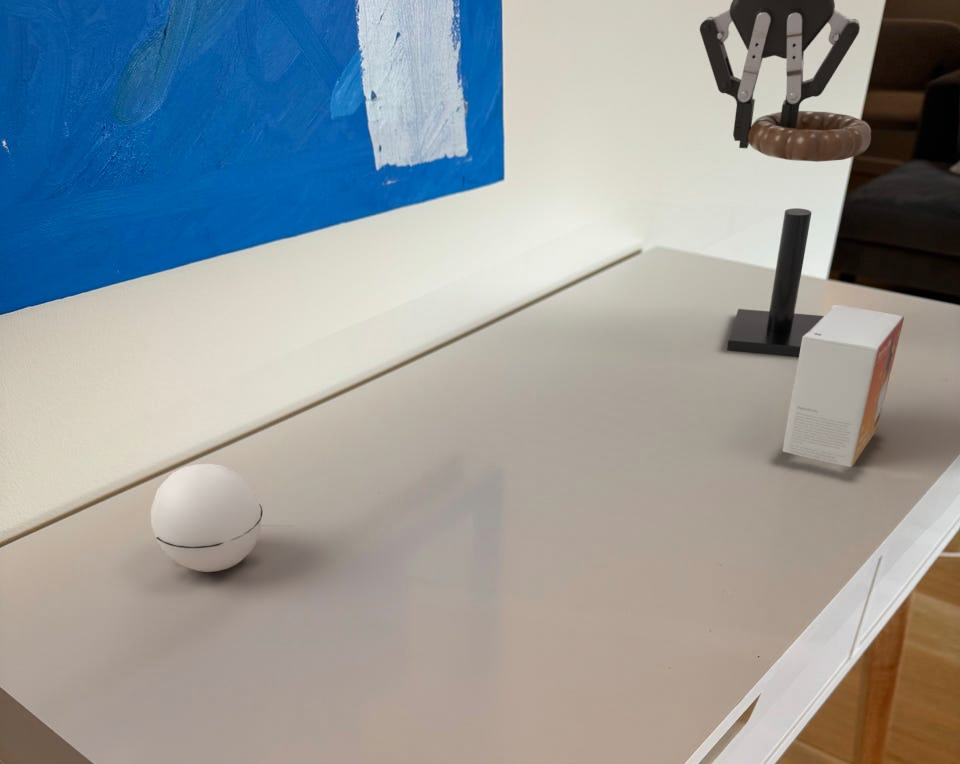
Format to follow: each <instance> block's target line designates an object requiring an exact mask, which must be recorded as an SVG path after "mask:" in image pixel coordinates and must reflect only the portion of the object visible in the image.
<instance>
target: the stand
mask: <svg viewBox="0 0 960 764" xmlns="http://www.w3.org/2000/svg"><path fill="white" fill-rule="evenodd" d="M811 218H812V211H811V210H809V209H805V208H798V207H797V208H796V207H795V208H788V209H785V210H784V214H783V221H782V227H781V234H780V240H779V246H778V253H777V260H776V265H775V273H774V279H773V284H772V285H773V286H772V292H771V299H770V305H769V311H768V310H758V309H745V308H738V309H737V310H736V311H737V313H736V314H735V318H734V320H733V321H734V322H733V325H732V327H731V330H730V333H729V337H728V340H727V346H726V351H727V352H728V351H729V352H736V353H737V352H738V353H750V354H759V355H771V356H781V357H790V358H791V357H792V358H799V354H800V349H801V343H802V337H803V336H804V335H805V334H806V333H808V332H809V331H810V330H811V329H812V328H813V327H814V326H815V325H816V324H817V323H818V322H819V321H820V320H821V319H822V318H823V317H824V316H825V315H817V314H807V313H806V314H805V313H795V312H796V306H797V301H798V295H799V289H800V285H801V278H802V271H803V266H804V259H805V254H806V248H807V241H808V236H809V230H810V224H811Z"/></svg>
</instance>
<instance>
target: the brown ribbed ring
mask: <svg viewBox="0 0 960 764" xmlns="http://www.w3.org/2000/svg"><path fill="white" fill-rule="evenodd" d="M781 112H782V111H779V112H778V111H777V112H774V113H771V114H766V115H763V116H760V117H758V118H756V119H755V121H754V122H752V126H751V129H750V131H749V135H748V141H749V146H750V147H751V148H752V149H753V150H755V151H757V152H758V153H761V154H763V155H765V156H767V157H770V158H777V159H783V160H787V161H795V162H796V161H799V162H815V163H816V162H817V163H819V162H833V161H843V160H847V159H851V158H854V157H856V156H859V155H861V154H863V153H864V152H866V150H867V149H868V148H869V146H870V144H871V141H872V140H871V139H872V135H871V134H872V129H871V127H870V125H869V123H868V122H867V121H865V120H862V119H859V118H857V117H855V116H851V115H848V114H843V113H836V112H830V111H813V110H812V111H811V110H799V112H798V118H797V125H796V129H792V128H787V127H781V126H779V125H780V118H781Z"/></svg>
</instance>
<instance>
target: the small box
mask: <svg viewBox="0 0 960 764" xmlns="http://www.w3.org/2000/svg"><path fill="white" fill-rule="evenodd" d="M823 316H824V317H823V318H822V319H821V320H820V321H819V322H818V323H817V324H816V325H815V326H814V327H813V328H812V329H811V330H810V331H809V332H808V333H806V334H805V335H804V336H803V337H802V343H801V349H800V354H799V357H798V359H797V366H796V371H795V372H796V373H795V377H794V382H793V386H792V387H793V388H792V393H791V399H790V404H789V411H788V416H787V417H788V418H787V423H786V427H785V433H784V439H783V440H784V441H783V445H782V452H784V453H788V454H792V455H795V456H800V457H804V458H809V459H813V460H816V461H821V462H825V463H830V464H833V465H838V466H842V467H848V468H853V466H854V465H855V463H856V461H857V460H858V458H859V457H860V455H861V454H862V452H863V451H864V450H865V448H866V446H867V445H868V443H869V442H871V441H870V440H872V438H873V436H874V434H875V433H876V431H877V429H878V426H879V423H880V418H881V414H882V409H883V406H884V403H885V399H886V394H887V390H888V385H889V380H890V376H891V371H892V368H893V364H894V362H895V357H896V352H897V348H898V345H899V340H900V336H901V333H902V332H901V330H902V328H903V323H904V319H905V316H904V315H901V314H900V315H899V314H894V313H888V312H883V311H876V310H871V309H865V308H864V309H863V308H860V307H859V308H858V307H853V306H847V305H840V304H833V305H831V308H829V310H828V311H827V312H826V313H825V314H824V315H823Z"/></svg>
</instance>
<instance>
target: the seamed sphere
mask: <svg viewBox="0 0 960 764" xmlns="http://www.w3.org/2000/svg"><path fill="white" fill-rule="evenodd" d="M262 517H263V507H262V505H261V504H260V501H259V500H258V497H257V494H256V493H255V491H254V489H253V488H252V486H251V485H250V484H249V483H248V482H247V481H246V479H245V478H244V477H242V476H241V475H240V474H239V473H236V472H235V471H233V470H232V469H229V468H228V467H226V466H223V465H220V464H216V463H215V464H214V463H196V464H191V465H187V466H185V467H182V468H180V469H177V470H176V471H174V472H172V473H171V474H170V475H169V476H168V477H167V478H166V479H165V480H164V481H163V483H162V484H161V485H160V486H158V488H157V489H156V493H155V495H154V499H153V502H152V505H151V509H150V523H151V529H152V531H153V534H154V536H155V539H156V541H157V542H158V545H159V547H160V548H161V550H162V551H163V552H164V553H165V554H166V555H167V556H168V557H170V558H171V559H172V560H173V561H174V562H175V563H176V564H178V565H180V566H183V567H185V568H188V569H191V570H194V571H197V572H203V573H204V572H205V573H211V572H213V573H214V572H220V571H224V570H227V569H230V568H232V567H234V566H236V565H237V564H239V563H240V562H242V561H243V560H244V559H245V558H246V557H247V556H248V555H249V554H250V553H251V552H252V551H253V549H254V548H255V546H256V544H257V542H258V539H259V537H260V534H261V532H262V527H289V528H290V527H295V525H294V524H287V525H286V524H285V525H283V524H262Z"/></svg>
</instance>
